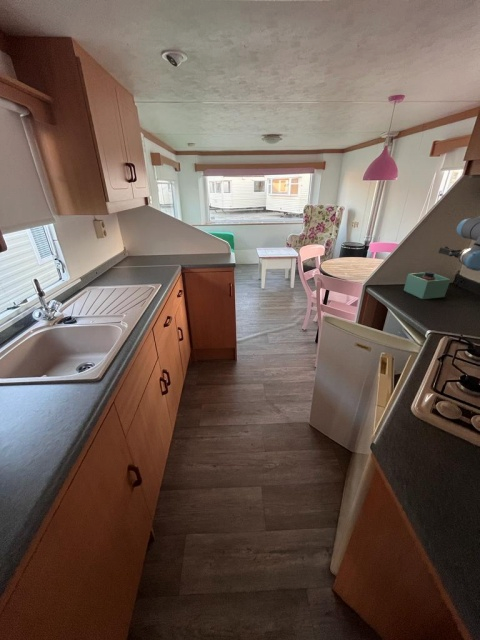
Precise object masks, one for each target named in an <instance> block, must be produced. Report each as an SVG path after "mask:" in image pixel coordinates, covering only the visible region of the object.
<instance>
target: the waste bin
mask: <svg viewBox="0 0 480 640" xmlns="http://www.w3.org/2000/svg"><path fill="white" fill-rule="evenodd" d="M425 272H426V271H424V272H414V273H413V272H412V273H408V274H407V275H406V280H405V284H404V288H403V291H404V292H406V293H407V294H411V295H412V296H415V297H417V298H419V299H421V300H428V299H437V298H445V297H446V294H447V290H448V288H449V285H450V283H451V279H450V278H448V277H445V276H442V275H439V274H436V273H434V277H435V280H433V281H427V280H424V279H422V276H423V275H425Z"/></svg>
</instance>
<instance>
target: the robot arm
mask: <svg viewBox="0 0 480 640" xmlns="http://www.w3.org/2000/svg"><path fill="white" fill-rule="evenodd" d="M456 233H457V235H458V236H459V237H462V238H464V239H469V240H472V241H475V242H474V244H473V245H472V246H469V247H467V248H464V249H452V248H449V247H448V246H444V247H441V246H440V248H439V249H438V254H442V255H446V256H448V257H454V258H456V259H458V261H459V263H460V264H462V265H463V266H465V267H466V269H469V270H472V271H477V272H480V215H479V216H477V217H475V218H474V217H471V218H465V219H463V220H461V221H460V222H459V223H458V225H457V226H456Z"/></svg>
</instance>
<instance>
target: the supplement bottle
mask: <svg viewBox="0 0 480 640" xmlns="http://www.w3.org/2000/svg"><path fill="white" fill-rule="evenodd" d="M424 272H425V275H423V276H422V279H424V280H427V281H433V280H435V277H434V274H435V272H434V271H430V270H427V271H424Z"/></svg>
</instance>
